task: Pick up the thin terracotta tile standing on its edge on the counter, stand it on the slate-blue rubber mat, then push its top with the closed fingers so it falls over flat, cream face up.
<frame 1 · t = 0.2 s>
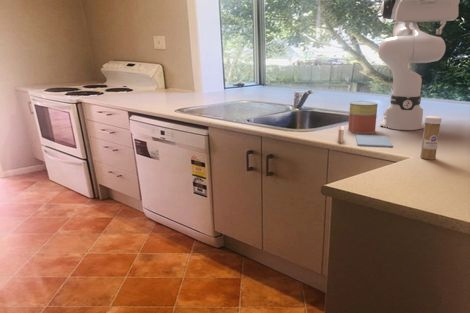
hand: (424, 34, 133), 39 cm above the countertop, tool pointing down, fingers open, 8 cm apart
sprinkles bottle: (427, 158, 119), on the countertop
canned food: (361, 131, 161), on the countertop
tile: (340, 140, 144), on the countertop
mat: (373, 141, 141), on the countertop
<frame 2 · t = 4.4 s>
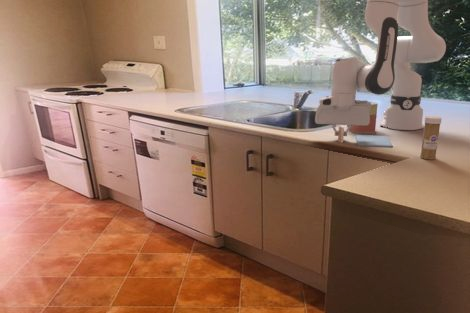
hand: (340, 135, 144), 2 cm above the countertop, tool pointing down, fingers closed on tile, 2 cm apart
tile: (340, 140, 144), on the countertop, touching gripper
everything else where it was.
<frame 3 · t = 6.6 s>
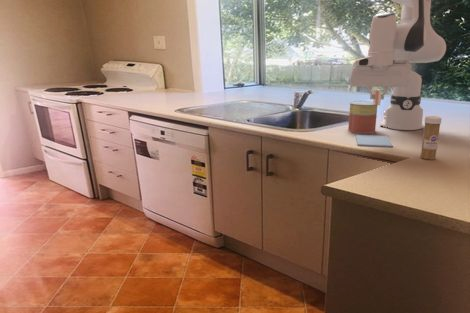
hand: (376, 99, 137), 16 cm above the countertop, tool pointing down, fingers closed on tile
tile: (376, 103, 137), point 14 cm above the countertop, touching gripper
everything else where it was.
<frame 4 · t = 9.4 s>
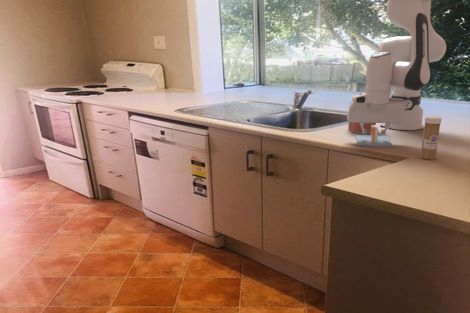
hand: (373, 134, 141), 3 cm above the countertop, tool pointing down, fingers open, 5 cm apart
tile: (373, 139, 141), point 1 cm above the countertop, touching mat
everything else where it was.
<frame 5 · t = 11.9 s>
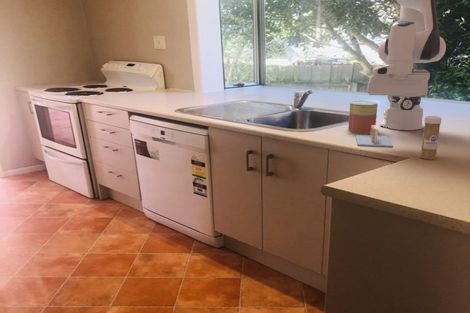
hand: (394, 107, 136), 13 cm above the countertop, tool pointing down, fingers closed
nothing on the countertop moved.
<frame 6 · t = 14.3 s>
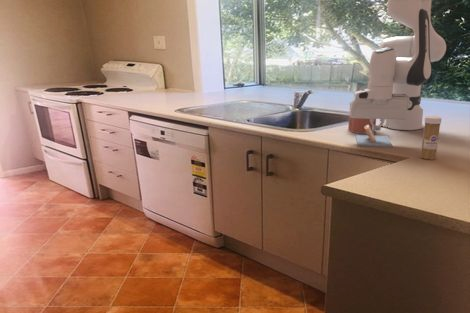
hand: (376, 130, 140), 4 cm above the countertop, tool pointing down, fingers closed
tile: (373, 138, 141), point 1 cm above the countertop, tilted 31°, touching mat
everything else where it was.
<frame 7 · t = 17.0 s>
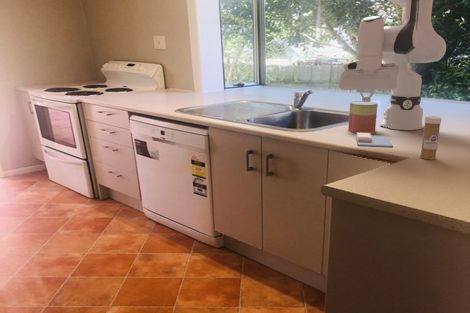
hand: (366, 101, 139), 15 cm above the countertop, tool pointing down, fingers closed
tile: (370, 137, 141), point 1 cm above the countertop, tilted 90°, touching mat
everything else where it was.
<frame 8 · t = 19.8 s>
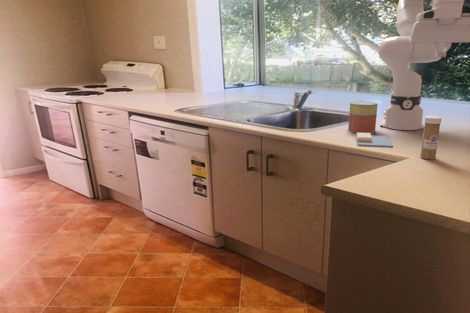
hand: (440, 56, 126), 31 cm above the countertop, tool pointing down, fingers closed
nothing on the countertop moved.
at the end: tile tilted 90°; tile inside the target area on the mat (0.9 cm from its centre), point 1.5 cm above the mat's base; the gripper is holding nothing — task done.
